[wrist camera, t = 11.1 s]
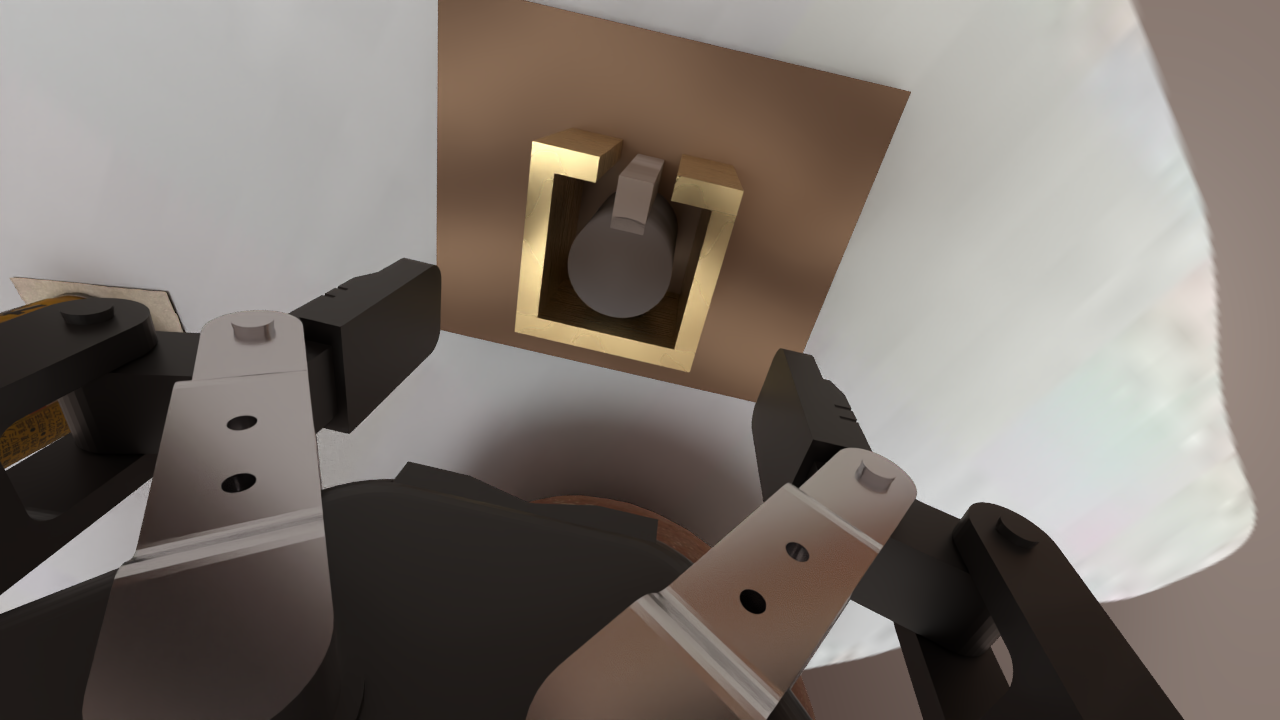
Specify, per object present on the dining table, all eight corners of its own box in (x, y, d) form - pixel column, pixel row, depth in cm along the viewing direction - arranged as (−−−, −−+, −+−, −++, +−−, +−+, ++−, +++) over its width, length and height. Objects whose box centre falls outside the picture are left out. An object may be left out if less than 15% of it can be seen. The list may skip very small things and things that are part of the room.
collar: (691, 313, 21) (689, 372, 17) (552, 280, 21) (514, 331, 17) (733, 165, 18) (743, 191, 14) (572, 127, 18) (532, 140, 14)
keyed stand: (775, 390, 24) (798, 483, 19) (450, 315, 24) (374, 386, 19) (895, 91, 18) (985, 94, 12) (457, -13, 18) (345, -57, 12)
